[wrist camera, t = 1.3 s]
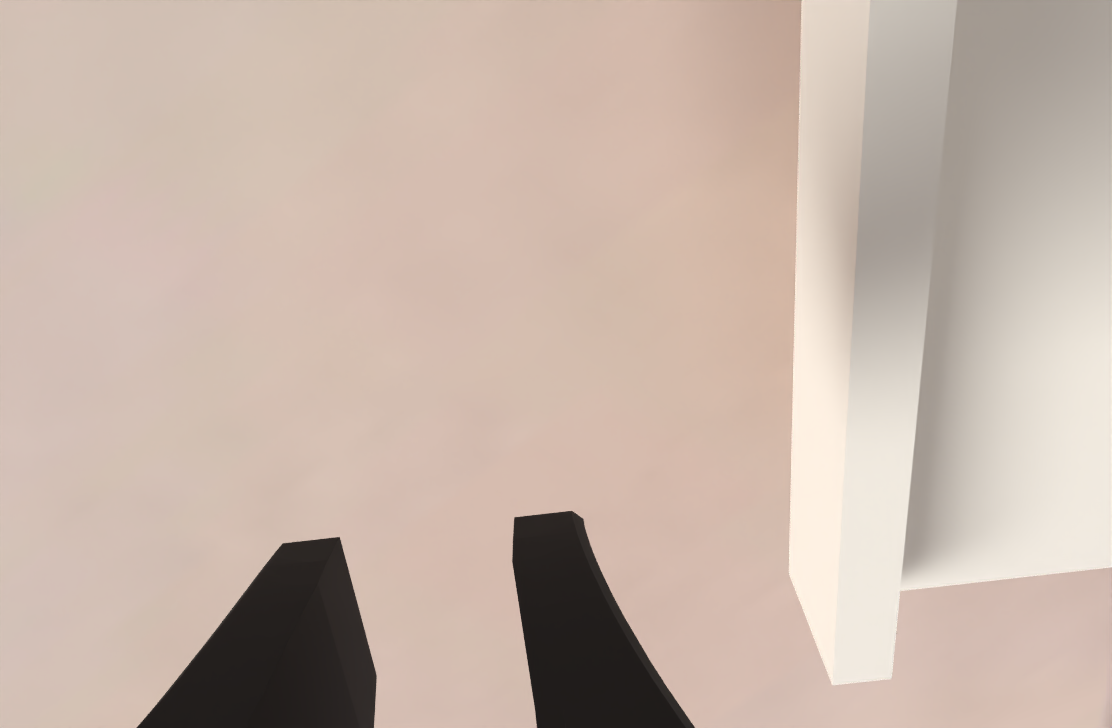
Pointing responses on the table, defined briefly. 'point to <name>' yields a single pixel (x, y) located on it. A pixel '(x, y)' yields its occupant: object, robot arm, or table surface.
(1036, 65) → the lid
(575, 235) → the table surface
